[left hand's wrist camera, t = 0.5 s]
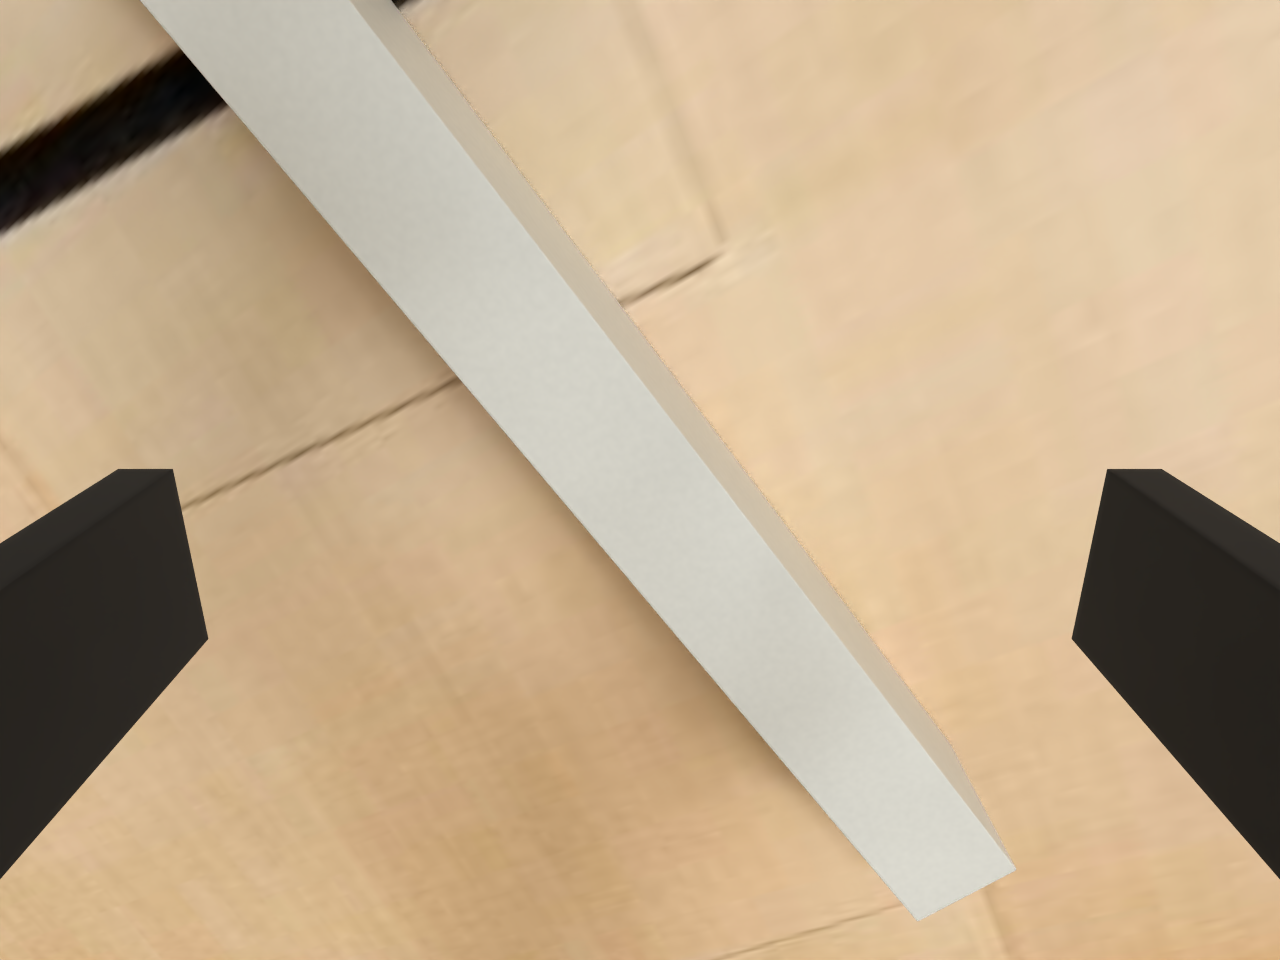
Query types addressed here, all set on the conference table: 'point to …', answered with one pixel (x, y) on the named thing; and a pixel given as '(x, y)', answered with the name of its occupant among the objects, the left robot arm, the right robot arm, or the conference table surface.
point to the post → (593, 413)
